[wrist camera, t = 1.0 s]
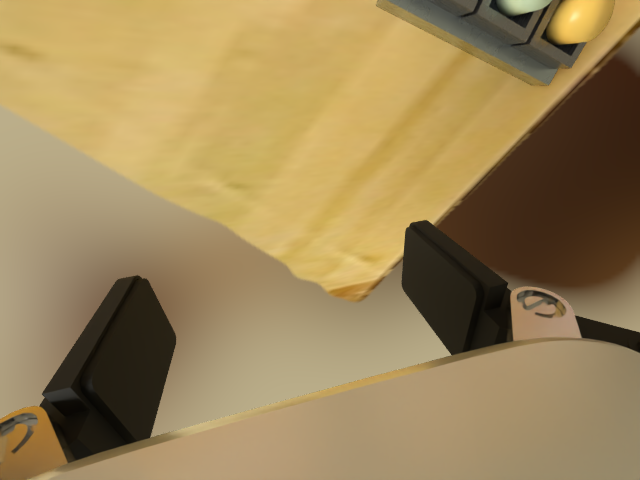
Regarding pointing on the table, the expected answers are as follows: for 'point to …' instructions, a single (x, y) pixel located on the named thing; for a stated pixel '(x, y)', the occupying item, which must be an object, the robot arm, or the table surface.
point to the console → (492, 34)
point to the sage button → (520, 6)
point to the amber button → (578, 20)
